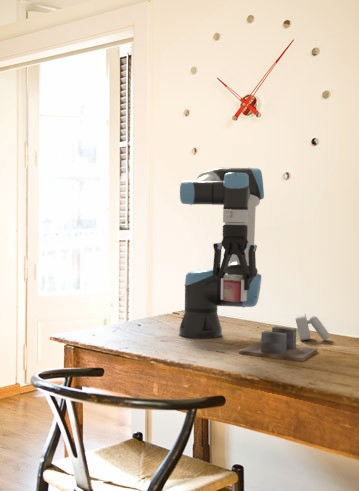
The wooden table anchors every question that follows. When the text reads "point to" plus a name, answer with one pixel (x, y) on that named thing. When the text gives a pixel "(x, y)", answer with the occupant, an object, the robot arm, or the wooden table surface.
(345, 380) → the wooden table surface
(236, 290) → the small box
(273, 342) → the slotted post block
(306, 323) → the wall hook
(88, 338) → the wooden table surface
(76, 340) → the wooden table surface
